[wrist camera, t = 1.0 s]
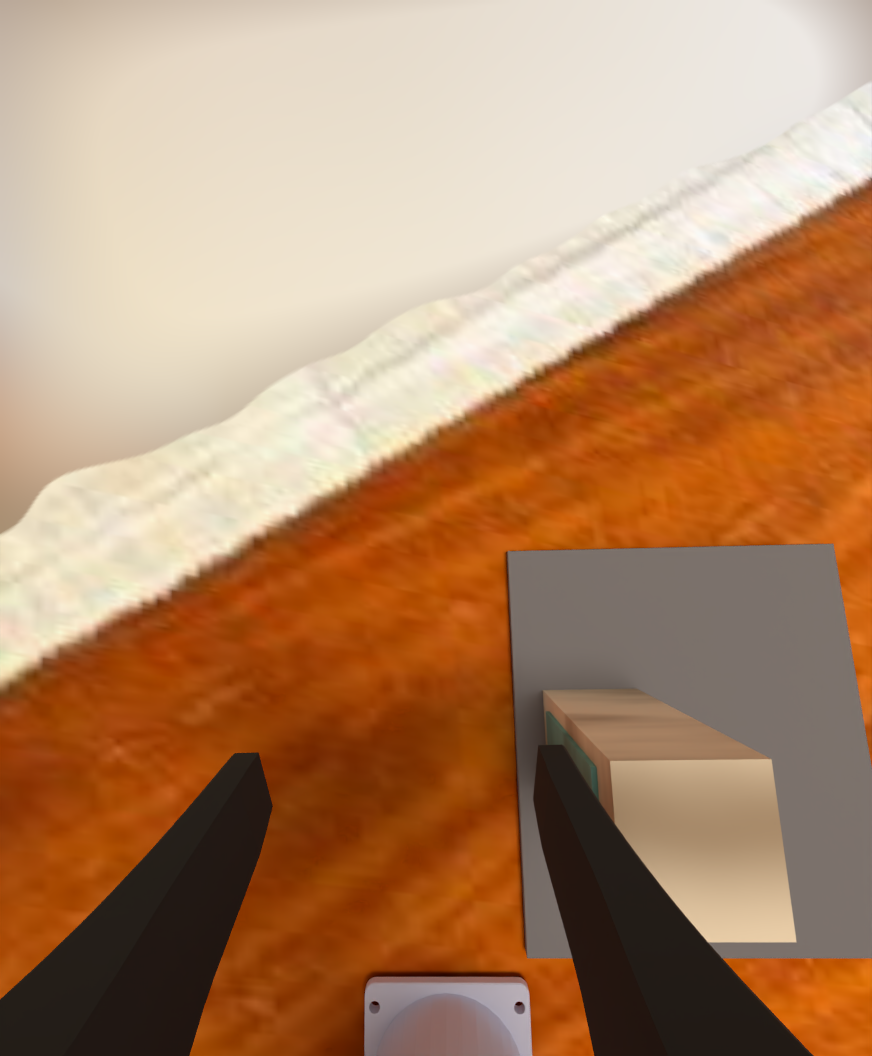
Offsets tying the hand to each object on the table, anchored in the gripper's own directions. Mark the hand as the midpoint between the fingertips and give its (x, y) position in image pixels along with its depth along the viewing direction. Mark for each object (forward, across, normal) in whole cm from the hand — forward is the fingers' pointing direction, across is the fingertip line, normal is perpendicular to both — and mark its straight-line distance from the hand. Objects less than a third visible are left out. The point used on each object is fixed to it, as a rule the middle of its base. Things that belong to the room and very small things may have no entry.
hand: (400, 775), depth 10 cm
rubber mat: (+8, -14, +9) cm, 19 cm away
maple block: (+8, -9, +8) cm, 15 cm away
